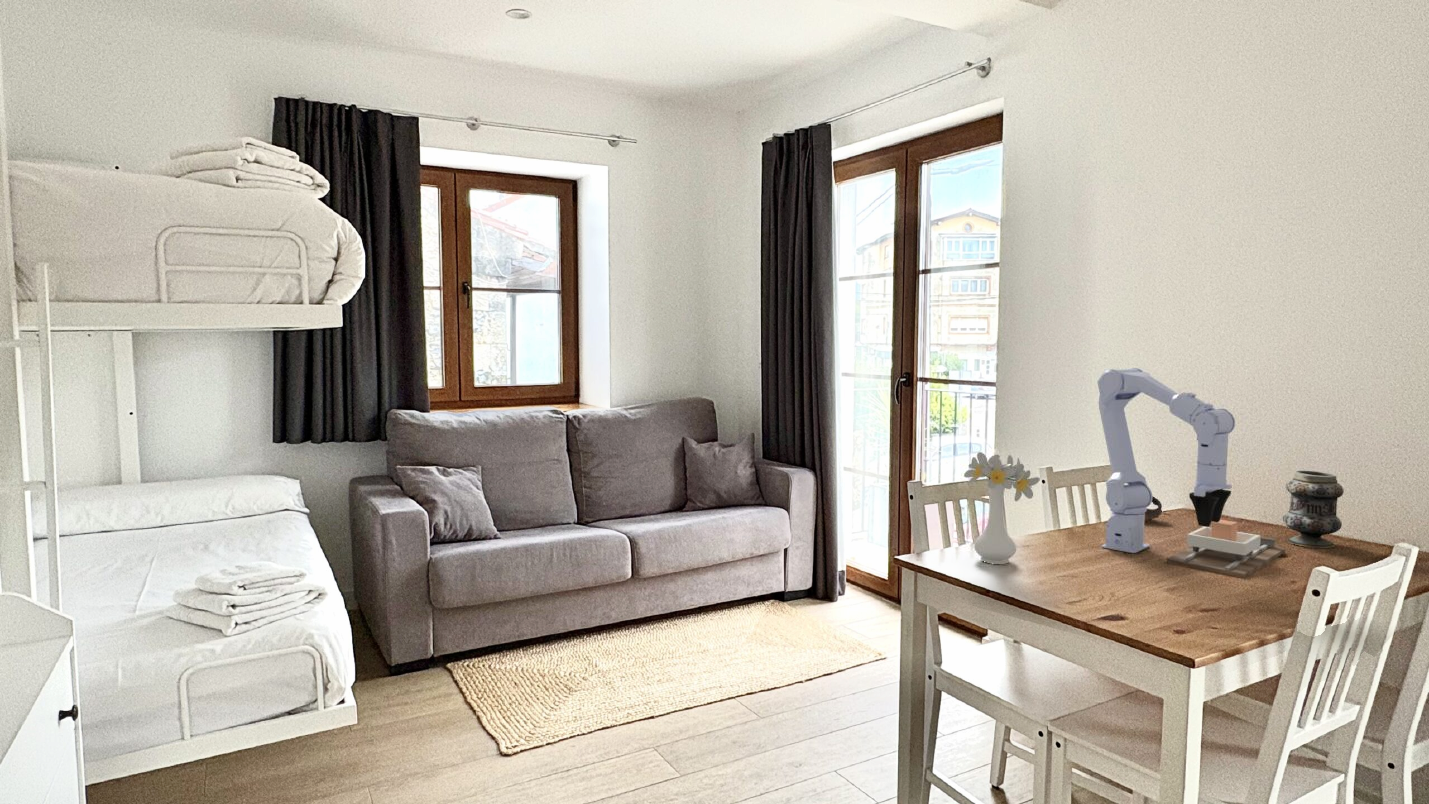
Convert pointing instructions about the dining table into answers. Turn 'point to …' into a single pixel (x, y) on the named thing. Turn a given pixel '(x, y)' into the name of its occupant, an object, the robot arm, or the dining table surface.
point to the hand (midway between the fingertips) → (1208, 523)
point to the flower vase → (999, 503)
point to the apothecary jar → (1313, 507)
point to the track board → (1228, 559)
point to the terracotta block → (1224, 530)
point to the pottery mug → (1153, 510)
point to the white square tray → (1223, 542)
